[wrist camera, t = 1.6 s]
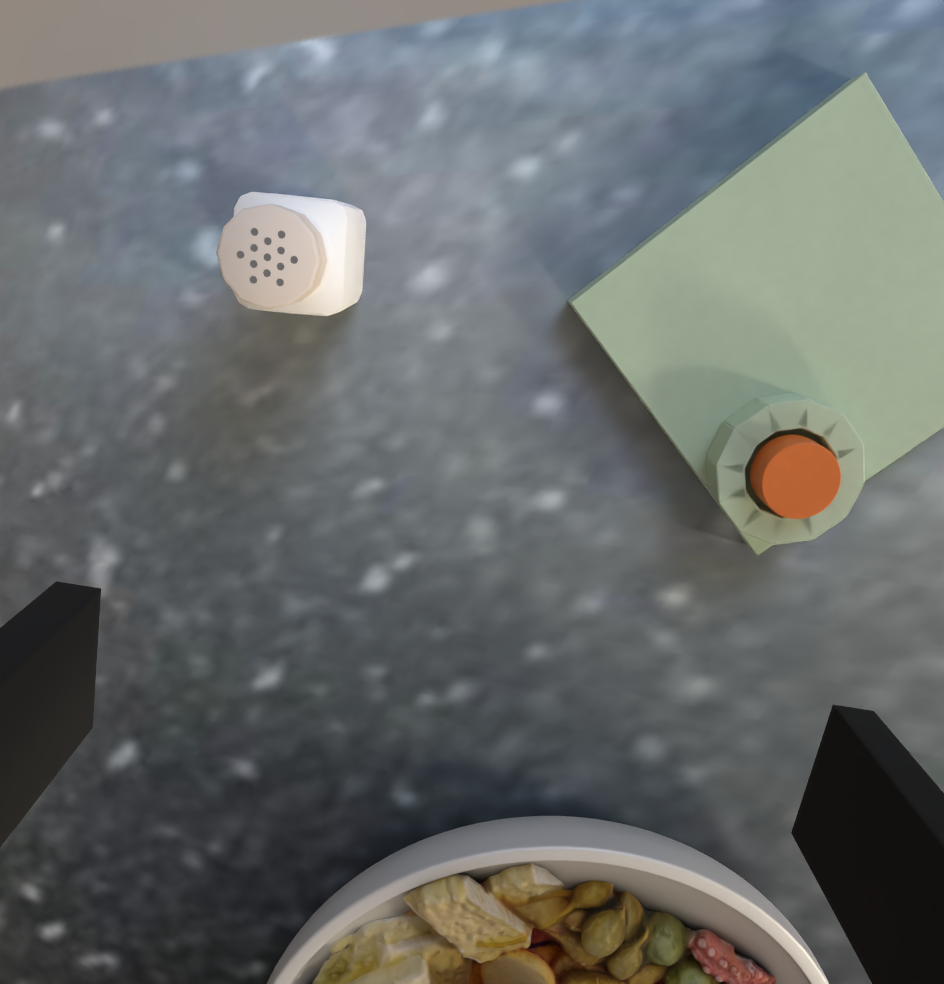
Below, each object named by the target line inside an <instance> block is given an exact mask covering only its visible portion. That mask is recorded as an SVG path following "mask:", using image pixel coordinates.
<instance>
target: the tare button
mask: <svg viewBox="0 0 944 984" xmlns="http://www.w3.org/2000/svg"><path fill="white" fill-rule="evenodd" d="M750 481H751V485H752V488H753V490H754V492H755V494H756V495H757V496H758V498H759V499H760V500H762V501H763V502H764V503H765V504H766V505H767V506H768V507H769V508H770V509H772V510H773V511H774V512H775V513H777V514H778V515H780V516H783V517H786V518H790V519H803V518H808V517H811V516H814V515H816V514H818V513H820V512H821V511H823V510H824V509H825V508H827V507H828V506H829V505H830V504H831V502H832V501H833V500H834V498H835V496H836V495H837V493H838V490H839V487H840V482H841V471H840V467H839V464H838V461H837V460H836V458H835V456H834V455H833V454H832V453H831V452H830V451H829V450H828V449H826V448H825V447H823V446H821V445H820V444H818V443H816V442H815V441H813V440H811V439H809V438H807V437H805V436H802V435H794V434H791V435H783V436H780V437H777V438H775V439H773V440H771V441H769V442H768V443H766V444H765V445H764V446H763V447H762V448H761V449H760V450H759V451H758V453H757V454H756V456H755V458H754V460H753V462H752V465H751V470H750Z"/></svg>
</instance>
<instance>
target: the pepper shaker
mask: <svg viewBox="0 0 944 984" xmlns="http://www.w3.org/2000/svg"><path fill="white" fill-rule="evenodd" d="M365 234H366V220H365V217H364V214H363V211H362V210H360V209H358V208H357V207H355V206H353V205H350V204H347V203H343V202H339V201H336V200H332V199H322V198H312V197H302V196H292V195H282V194H271V193H260V192H250V193H247V194H245V195H242V196H240V198H239V200H238V202H237V204H236V205H235V207H234V217H233V218H232V219H231V220H230V221H229V222H228V223H227V224H226V225H225V226H224V227H223V231H222V235H221V238H220V242H219V245H218V249H217V256H218V260H219V264H220V269H221V273H222V277H223V280H224V281H225V282H226V283H227V284H228V285H229V286H230V288H231V289H232V290H233V292H234V294H235V296H236V298H237V300H238V303H240V304H242V305H244V306H245V307H247V308H249V309H255V310H263V311H272V312H282V313H293V314H304V315H318V316H329V315H332V314H335V313H338V312H341V311H342V310H344V309H346V308H348V307H349V306H351V305H353V304H355V303H357V302H358V300H359V298H360V296H361V293H362V286H363V269H364V251H365Z"/></svg>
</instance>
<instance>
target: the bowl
mask: <svg viewBox="0 0 944 984" xmlns="http://www.w3.org/2000/svg"><path fill="white" fill-rule="evenodd" d="M267 984H829V983H828V981H827V978H826V976H825V974H824V972H823V971H822V969H821V967H820V965H819V964H818V962H817V960H816V958H815V957H814V955H813V953H812V952H811V950H810V949H809V948H808V946H807V945H806V943H805V942H804V940H803V939H802V937H801V936H800V935H799V933H798V932H797V931H796V930H795V928H794V927H793V926H792V925H791V924H790V922H789V921H788V920H787V919H786V918H785V917H784V915H783V914H782V913H781V912H780V911H779V910H778V909H777V908H776V907H775V906H774V905H773V904H772V903H771V902H770V901H769V900H768V899H767V898H766V897H764V896H763V895H762V894H761V893H760V892H759V891H758V890H757V889H755V888H754V887H753V886H752V885H750V884H749V883H748V882H747V881H745V880H744V879H743V878H742V877H740V876H739V875H737V874H736V873H734V872H733V871H731V870H730V869H728V868H727V867H726V866H724V865H722V864H721V863H719V862H717V861H716V860H714V859H712V858H711V857H709V856H707V855H705V854H703V853H701V852H699V851H697V850H695V849H693V848H691V847H689V846H687V845H685V844H682V843H680V842H678V841H675V840H673V839H671V838H668V837H665V836H662V835H660V834H657V833H654V832H651V831H648V830H644V829H641V828H637V827H634V826H630V825H625V824H621V823H616V822H611V821H605V820H599V819H592V818H582V817H570V816H528V817H515V818H506V819H498V820H492V821H487V822H481V823H476V824H472V825H468V826H463V827H460V828H456V829H453V830H449V831H446V832H443V833H440V834H437V835H434V836H431V837H429V838H426V839H423V840H421V841H419V842H416V843H414V844H412V845H409V846H407V847H405V848H403V849H401V850H399V851H397V852H395V853H393V854H391V855H389V856H388V857H386V858H384V859H382V860H381V861H379V862H377V863H376V864H374V865H372V866H371V867H369V868H368V869H366V870H365V871H363V872H362V873H360V874H359V875H357V876H356V877H355V878H353V879H352V880H351V881H349V882H348V883H347V884H345V885H344V886H343V887H342V888H341V889H339V890H338V891H337V892H336V893H335V894H334V895H333V896H332V897H330V898H329V899H328V900H327V901H326V902H325V903H324V904H323V905H322V906H321V907H320V908H319V909H318V910H317V911H316V912H315V913H314V914H313V915H312V916H311V918H310V919H309V920H308V921H307V922H306V923H305V925H304V926H303V927H302V928H301V929H300V930H299V932H298V933H297V934H296V936H295V937H294V939H293V940H292V941H291V943H290V944H289V945H288V947H287V949H286V950H285V952H284V953H283V955H282V957H281V958H280V960H279V961H278V963H277V965H276V966H275V968H274V970H273V972H272V974H271V976H270V978H269V980H268V982H267Z"/></svg>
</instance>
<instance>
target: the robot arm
mask: <svg viewBox="0 0 944 984" xmlns="http://www.w3.org/2000/svg"><path fill="white" fill-rule="evenodd" d="M100 596H101V589H100V588H94V587H88V586H81V585H75V584H69V583H62V582H55V583H54V584H53V585H52V586H50V587H49V588H48V589H47V590H46V591H44V592H43V593H42V594H41V595H40V596H38V597H37V598H36V599H35V600H33V601H32V602H31V603H30V604H29V605H27V606H26V607H25V608H24V609H23V610H21V611H20V612H19V613H18V614H17V615H15V616H14V617H13V618H12V619H11V620H9V621H8V622H7V623H6V624H5V625H3V626H2V627H1V628H0V847H1V846H2V844H3V843H4V842H5V840H6V839H7V838H8V837H9V835H10V834H11V833H12V831H13V830H14V829H15V827H16V826H17V825H18V824H19V822H20V821H21V820H22V818H23V817H24V816H25V815H26V813H27V812H28V811H29V809H30V808H31V807H32V805H33V804H34V803H35V802H36V800H37V799H38V798H39V796H40V795H41V794H42V792H43V791H44V790H45V789H46V787H47V786H48V785H49V783H50V782H51V781H52V779H53V778H54V777H55V776H56V774H57V773H58V772H59V770H60V769H61V768H62V766H63V765H64V764H65V763H66V761H67V760H68V759H69V757H70V756H71V755H72V753H73V752H74V751H75V750H76V748H77V747H78V746H79V744H80V743H81V742H82V741H83V739H84V738H85V737H86V735H87V734H88V733H89V731H90V730H91V729H92V727H93V710H94V694H95V678H96V661H97V645H98V628H99V612H100ZM792 835H793V837H794V839H795V841H796V843H797V844H798V846H799V848H800V850H801V852H802V854H803V856H804V857H805V859H806V861H807V863H808V865H809V867H810V869H811V870H812V872H813V874H814V876H815V878H816V880H817V882H818V883H819V885H820V887H821V889H822V891H823V893H824V895H825V897H826V898H827V900H828V902H829V904H830V906H831V908H832V910H833V911H834V913H835V915H836V917H837V919H838V921H839V923H840V924H841V926H842V928H843V930H844V932H845V934H846V936H847V937H848V939H849V941H850V943H851V945H852V947H853V949H854V950H855V952H856V954H857V956H858V958H859V960H860V962H861V963H862V965H863V967H864V969H865V971H866V973H867V975H868V977H869V978H870V980H871V982H872V984H944V793H943V792H942V791H941V790H940V789H939V787H938V786H937V785H936V784H935V783H934V781H933V780H932V779H931V778H930V777H929V776H928V774H927V773H926V772H925V771H924V770H923V769H922V767H921V766H920V765H919V764H918V763H917V761H916V760H915V759H914V758H913V757H912V756H911V754H910V753H909V752H908V751H907V750H906V748H905V747H904V746H903V745H902V744H901V743H900V741H899V740H898V739H897V738H896V737H895V736H894V734H893V733H892V732H891V731H890V730H889V728H888V727H887V726H886V725H885V724H884V723H883V721H882V720H881V719H880V718H879V717H878V716H877V714H876V713H875V712H874V711H869V710H863V709H857V708H850V707H844V706H838V705H833V706H832V709H831V712H830V715H829V719H828V722H827V725H826V728H825V731H824V734H823V737H822V740H821V743H820V746H819V749H818V752H817V755H816V759H815V762H814V765H813V768H812V771H811V774H810V777H809V780H808V783H807V786H806V789H805V792H804V796H803V799H802V802H801V805H800V808H799V811H798V814H797V817H796V820H795V823H794V826H793V829H792Z"/></svg>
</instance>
